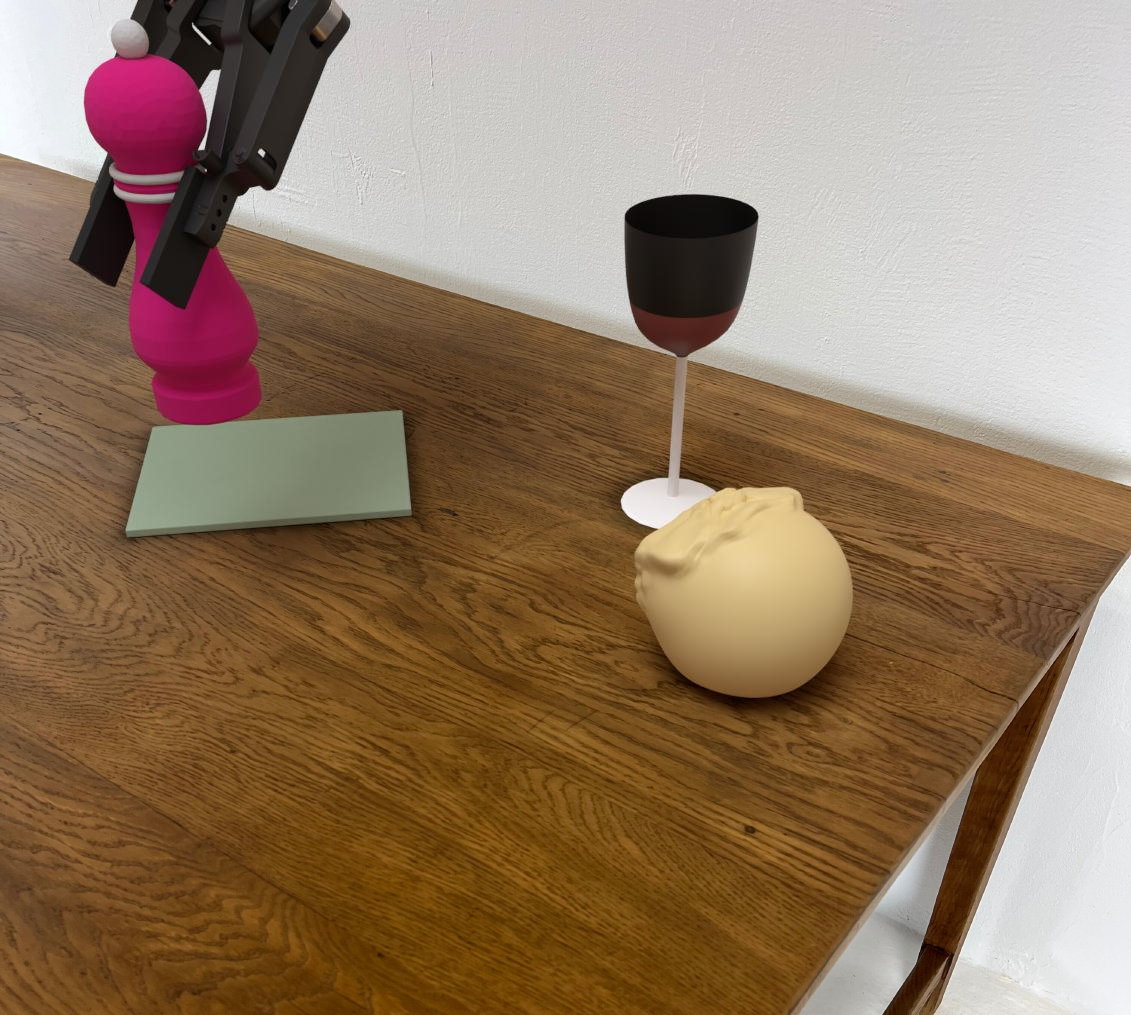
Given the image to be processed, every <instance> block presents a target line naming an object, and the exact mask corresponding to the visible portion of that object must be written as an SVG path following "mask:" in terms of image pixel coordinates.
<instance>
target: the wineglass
mask: <svg viewBox="0 0 1131 1015" xmlns="http://www.w3.org/2000/svg"><path fill="white" fill-rule="evenodd" d="M759 218H760V216H759V211H757V209H756V208H755V207H754V206H752V205H750V204H749V203H747V202H744V201H741V200H739V199H735V198H732V197H727V196H722V195H715V194H701V193H699V194H698V193H689V194H688V193H685V194H684V193H683V194H672V195H663V196H658V197H654V198H650V199H646V200H643V201H640V202H637V203H636V204H634V205H632V206H631V207H629V208H628V209H627V210H626V212H624V222H623V223H624V227H623V228H624V229H623V231H624V232H623V233H624V237H623V240H624V265H625V266H624V268H625V279H626V287H627V289H626V290H627V295H628V302H629V306H630V310H631V314H632V317H633V320H634V323H635V325H636V327H637V329H638V330H639V332H640V334H641V335H642V336H644V337H645V339H647V340H648V341H649V342H650V343H651V344H654V345H655V346H656V347H658V348H660V349H663V350H665V351H667V352H669V353H672V354H674V355H675V356H676V358H675V371H674V386H673V403H672V405H673V406H672V418H671V431H670V432H671V434H670V447H669V448H670V449H669V462H668V463H669V464H668V477H657V478H652V479H648V480H647V479H646V480H643V481H641V482H638V483H636V484H634V485H632V486H630V487H629V488H628V489H627V490H626V491H624V493H623V495H622V497H621V499H620V504H621V509H622V510H623V512H624V513H625V514H626V516H627V517H629V518H630V519H632V520H633V521H635V522H637V523H638V524H640V525H643V526H646V527H650V528H653V529H656V530H658V529H659V528H661V527H663V526H664V525H666V524H668V523H669V522H671V521H672V520H674V519H675V518H676V517H677V516H678V515H679V514H681V513H682V512H683V511H685V510H688V509H689V508H691V507H692V506H693V505H695V504H696V503H699V502H700V501H701V500H703V499H706V498H709V497H710V496H711V495H713V494H715V493H716V492H717V491H716V490H715V489H713V488H711V487H710V486H708V485H706V484H704V483H701V482H698V481H695V480H691V479H688V478H680V471H681V458H682V457H681V456H682V444H683V442H682V441H683V431H684V430H683V428H684V415H685V412H684V411H685V402H686V400H685V399H686V387H687V386H686V385H687V372H688V357H689V355H691V354H692V353H695V352H697V351H699V350H701V349H703V348H706V347H707V346H709V345H711V344H713V343H714V342H716V341H717V340H719V339H720V338H722V336H723V335H724V334H726V333H727V332H728V330H729V329H730V328H731V326H732V325H733V324H734V322H735V320H736V319H737V317H738V314H739V313H740V309H741V307H742V304H743V301H744V298H745V295H746V291H747V287H748V283H749V279H750V274H751V268H752V264H753V263H752V262H753V257H754V252H755V246H756V240H757V233H758V227H759V226H758V225H759Z"/></svg>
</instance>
